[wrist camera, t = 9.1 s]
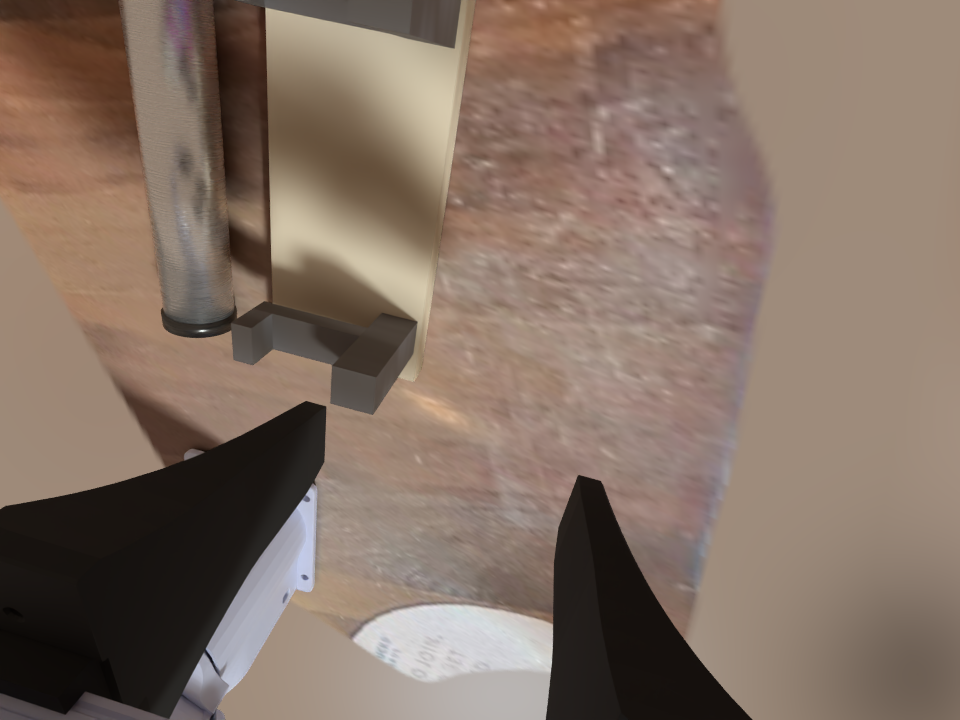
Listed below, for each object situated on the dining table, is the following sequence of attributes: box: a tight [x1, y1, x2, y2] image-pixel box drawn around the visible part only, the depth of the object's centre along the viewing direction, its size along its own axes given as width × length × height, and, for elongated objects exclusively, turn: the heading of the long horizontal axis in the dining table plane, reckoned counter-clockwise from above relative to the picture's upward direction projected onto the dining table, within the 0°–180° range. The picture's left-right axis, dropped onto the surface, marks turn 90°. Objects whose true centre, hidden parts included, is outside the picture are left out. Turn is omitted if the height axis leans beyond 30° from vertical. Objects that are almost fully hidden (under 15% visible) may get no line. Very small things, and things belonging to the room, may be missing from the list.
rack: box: [231, 0, 476, 415], centre depth 18 cm, size 16×7×6 cm, turn 170°
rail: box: [118, 0, 237, 338], centre depth 19 cm, size 15×3×3 cm, turn 170°
